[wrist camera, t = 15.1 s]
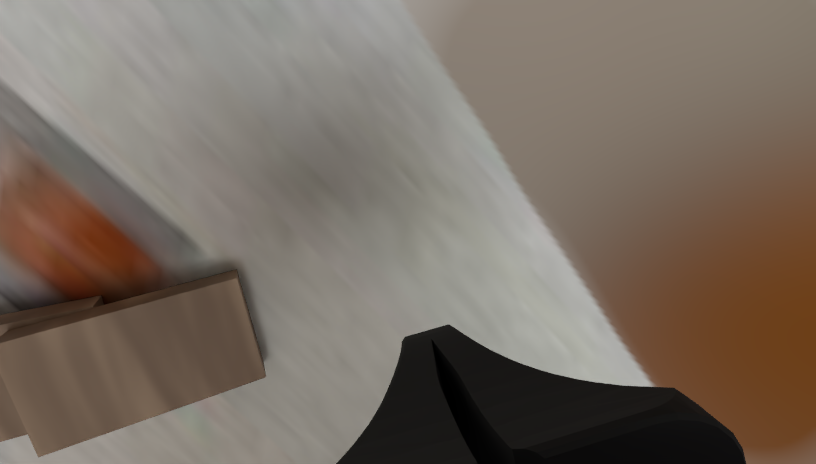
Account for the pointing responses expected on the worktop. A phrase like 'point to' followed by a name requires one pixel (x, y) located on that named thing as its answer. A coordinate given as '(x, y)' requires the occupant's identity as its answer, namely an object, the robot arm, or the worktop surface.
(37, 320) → the domino
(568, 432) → the robot arm
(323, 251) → the worktop surface
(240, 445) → the worktop surface
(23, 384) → the domino
